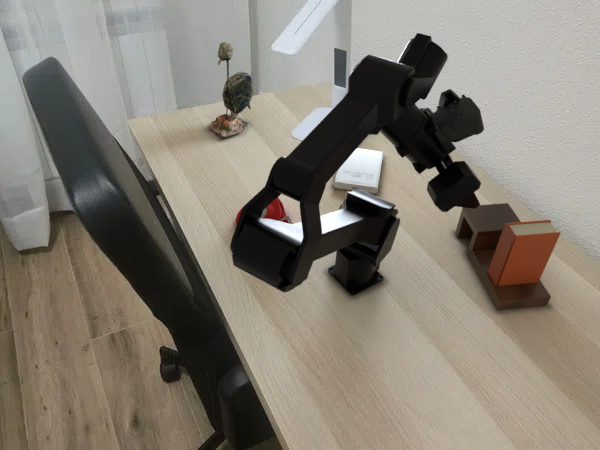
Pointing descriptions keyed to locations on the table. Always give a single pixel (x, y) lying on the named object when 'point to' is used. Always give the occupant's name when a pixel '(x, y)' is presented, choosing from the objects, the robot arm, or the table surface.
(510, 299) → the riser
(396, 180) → the table surface
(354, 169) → the hard drive
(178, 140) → the table surface
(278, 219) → the tracker holder
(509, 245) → the book
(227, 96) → the plant with pod
